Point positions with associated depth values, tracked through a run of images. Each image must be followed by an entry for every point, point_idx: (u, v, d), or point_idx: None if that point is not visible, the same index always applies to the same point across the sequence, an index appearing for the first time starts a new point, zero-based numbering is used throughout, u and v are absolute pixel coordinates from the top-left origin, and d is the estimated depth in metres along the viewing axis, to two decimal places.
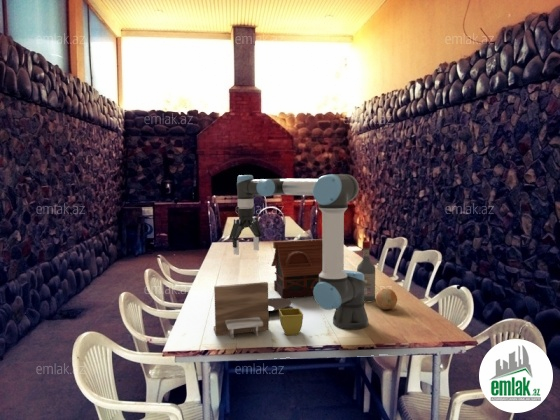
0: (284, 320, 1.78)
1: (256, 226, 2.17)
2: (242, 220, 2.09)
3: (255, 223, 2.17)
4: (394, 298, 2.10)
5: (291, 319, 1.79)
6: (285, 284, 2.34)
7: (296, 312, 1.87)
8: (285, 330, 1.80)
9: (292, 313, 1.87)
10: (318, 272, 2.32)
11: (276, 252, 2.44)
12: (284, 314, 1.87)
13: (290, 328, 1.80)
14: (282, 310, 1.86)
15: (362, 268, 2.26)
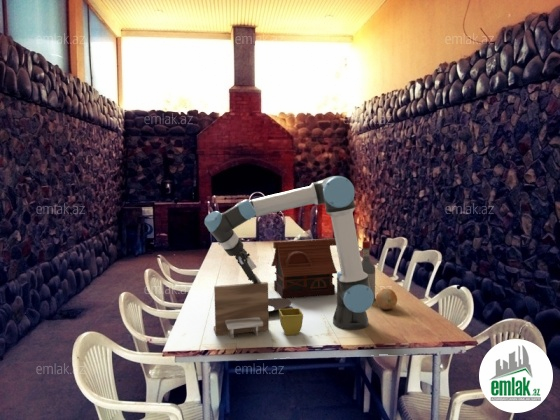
0: (284, 320, 1.78)
1: None
2: (241, 255, 1.82)
3: None
4: (394, 298, 2.10)
5: (291, 319, 1.79)
6: (285, 284, 2.34)
7: (296, 312, 1.87)
8: (285, 330, 1.80)
9: (292, 313, 1.87)
10: (318, 272, 2.32)
11: (276, 252, 2.44)
12: (284, 314, 1.87)
13: (290, 328, 1.80)
14: (282, 310, 1.86)
15: None
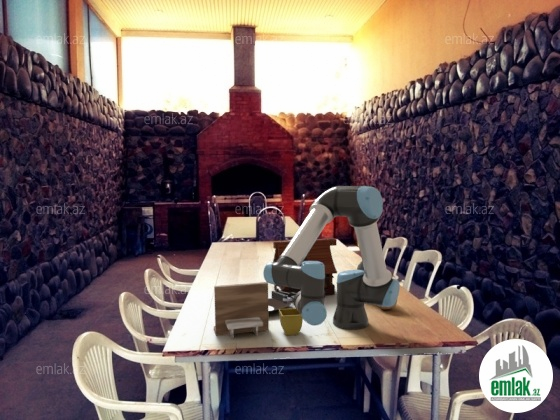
0: (284, 320, 1.78)
1: None
2: None
3: None
4: None
5: (291, 319, 1.79)
6: None
7: (296, 312, 1.87)
8: (285, 330, 1.80)
9: (292, 313, 1.87)
10: None
11: (276, 252, 2.44)
12: (284, 314, 1.87)
13: (290, 328, 1.80)
14: (282, 310, 1.86)
15: (362, 268, 2.26)
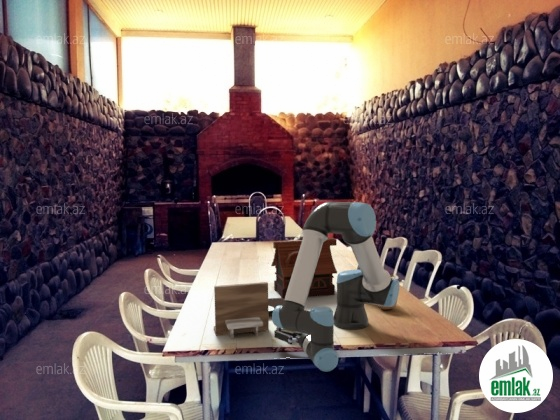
0: None
1: None
2: None
3: None
4: None
5: None
6: (285, 284, 2.34)
7: None
8: None
9: None
10: (318, 272, 2.32)
11: (276, 252, 2.44)
12: None
13: None
14: None
15: None
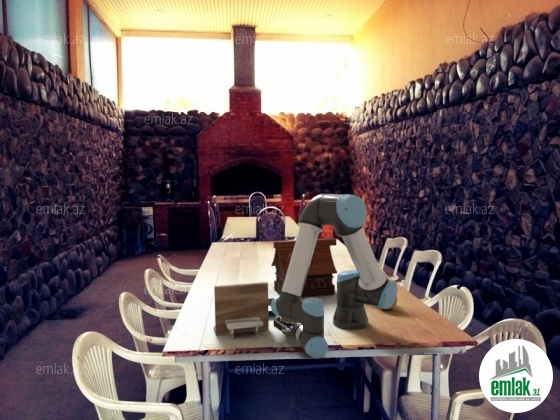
0: (284, 320, 1.78)
1: None
2: None
3: None
4: None
5: None
6: None
7: None
8: None
9: None
10: (318, 272, 2.32)
11: (276, 252, 2.44)
12: None
13: None
14: None
15: None
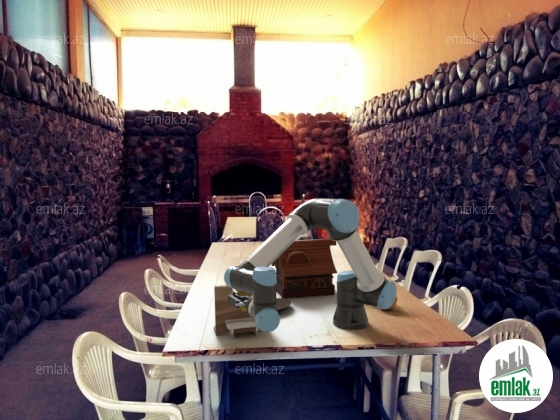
0: None
1: None
2: None
3: None
4: None
5: (247, 294, 1.65)
6: (285, 284, 2.33)
7: None
8: (241, 306, 1.66)
9: None
10: (318, 272, 2.32)
11: None
12: None
13: None
14: None
15: None
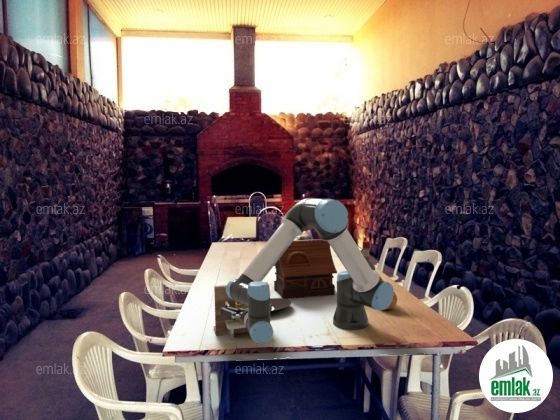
0: (238, 308, 1.74)
1: None
2: None
3: None
4: (394, 298, 2.10)
5: (246, 307, 1.75)
6: (285, 284, 2.33)
7: None
8: (240, 319, 1.76)
9: None
10: (318, 272, 2.32)
11: None
12: (240, 303, 1.83)
13: None
14: None
15: None
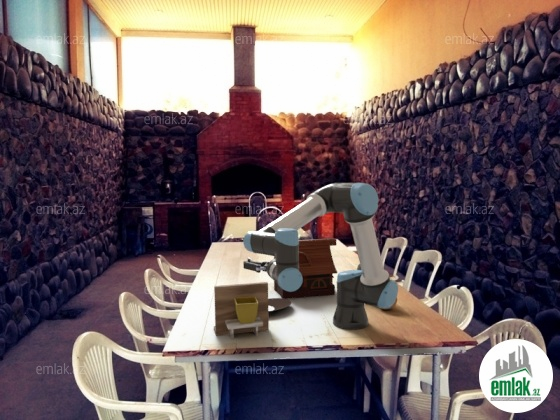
0: (238, 308, 1.74)
1: None
2: None
3: None
4: None
5: (246, 307, 1.75)
6: None
7: (252, 301, 1.83)
8: (240, 319, 1.76)
9: (248, 302, 1.83)
10: (318, 272, 2.32)
11: None
12: (240, 303, 1.83)
13: (245, 317, 1.76)
14: (238, 299, 1.82)
15: None
